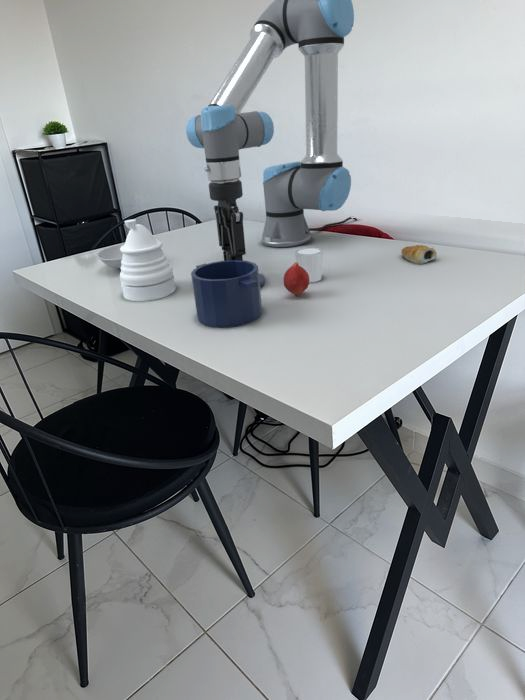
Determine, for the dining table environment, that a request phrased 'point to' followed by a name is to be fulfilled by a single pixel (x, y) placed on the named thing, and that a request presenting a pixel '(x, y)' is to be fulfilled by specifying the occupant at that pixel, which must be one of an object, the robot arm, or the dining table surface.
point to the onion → (296, 279)
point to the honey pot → (144, 266)
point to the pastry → (419, 254)
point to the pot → (227, 293)
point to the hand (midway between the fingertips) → (235, 278)
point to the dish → (111, 256)
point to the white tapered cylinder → (311, 262)
